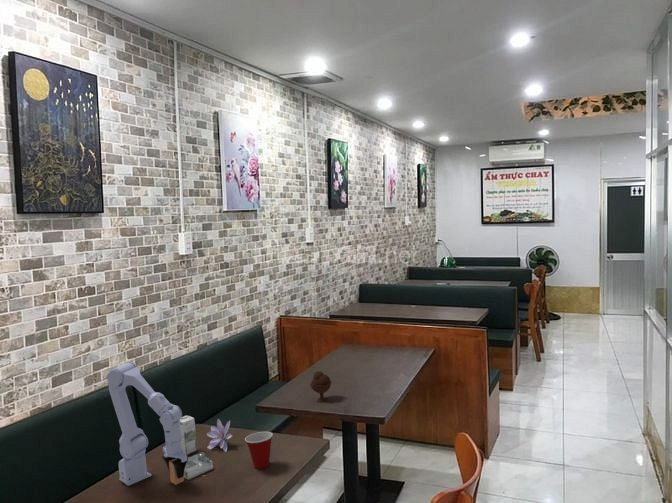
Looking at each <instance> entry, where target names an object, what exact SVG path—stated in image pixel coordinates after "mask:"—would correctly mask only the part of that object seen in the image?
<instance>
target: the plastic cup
mask: <svg viewBox="0 0 672 503" xmlns="http://www.w3.org/2000/svg"><path fill="white" fill-rule="evenodd" d="M273 437H274V436H273V432H271V431H259V432H253V433H251V434H249V435H247V436H246V437H245V438H244V441H245V442H246V444H247V447H248V450H249V454H250V456H251V457H250V458H251V460H252V465H253V468H254V469H257V470H264V469H266V468H267V467H269V466H270V458H271V449H272V448H271V446H272V438H273Z"/></svg>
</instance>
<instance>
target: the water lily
mask: <svg viewBox="0 0 672 503" xmlns="http://www.w3.org/2000/svg"><path fill="white" fill-rule="evenodd" d="M230 424H231V420H229V421H227V422H226V424H225V427H224V425H223V424H222V421H221V420H220V419H219V418H217V420H216V426H217V427H216V426H213V425H212V426H210V431H209V432H207V433H206V435H207V437H209V438H211V440H210V441H209V444H208V446H207V449H208V450H211V449H213V448H215V447H216V446H218V445H219V447H220V449H222V450H223V451H224V452H227V450H228V443H230V441H229V439H231V438H232V437H233V434H231V433H228V431H229V429H230Z"/></svg>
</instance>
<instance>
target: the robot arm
mask: <svg viewBox="0 0 672 503" xmlns="http://www.w3.org/2000/svg"><path fill="white" fill-rule="evenodd" d="M106 380H107V382H108V391H109V396H110V398H111V401H112V404H113V407H114V410H115V414H116V416H117V420H118V423H119V427H120V430H121V433H122V434H121V436H120V437H119V440H118V442H119V443H118V444H119V452H120V455H121V456H122V459H120V460H119V461H118V471H119V481H120V482H122V483H124V484H125V485H127V486H132V485H134V484H136V483H138V482H141V481H144V480H145V479H148V478H150V477H152V473H150V472H148V468H147V459H146V458H147V457H146V451H147V449H146V448H148V446H149V439H148V437H147V435H146V434H145V432H144V430H143V429H142V428H140V427H138V426H137V423H136V420H135V416H134V413H133V410H132V407H131V404H130V400H129V398H128V394H127V391H126V388H127V387H128V386H133V388H135V389H136V390H137V391H138V392H140V394H142V395H143V396H144V397H145V398H146V399H147V404H148V406H149V407H150V408H151V409H152V410H153V411H154V412H155V413H156V414H157V415H158V416H159V417H160V418H159V422H160V424H161V425H162V428H163V431H164V440H165V446H163V447H162V452H163V453H164V454H163V456H162V459H163V461H164V462H165V464H166V467H167V469H168V472H169V473H170V468H169V461H171V460H173V459H175V458H177V460H174V461H172V463H173V465H174V467H175V470H176V474H177V477H178V478H181V477H183V476H184V470H185V466H186V463H187V461H188V458H189V457H188V455H185V453H184V451H183V449H182V440H181V430H180V419H181V418H182V417H183V411H182V409H181V408H180V406H178V405H177V404H176V405H175V404H173V403H170V401H169V400H168V399H167V398H166V397H165V395H164V394H163V393H161V392H158V391H157V392H156V391H154V389H153V387H152V386H150V384H149V383H148V382H147V381H146V379H145V378H144V377H143V376H142V374H141V370H140V368H139V367H138V366H137V365H136V364H135V362H133V361H127V362H125V363H124V364H120V365H118V366H116V367H113V368H111V369H109V371H108V373H107V374H106ZM178 420H179V421H178Z"/></svg>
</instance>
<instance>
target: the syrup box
mask: <svg viewBox="0 0 672 503" xmlns="http://www.w3.org/2000/svg"><path fill="white" fill-rule="evenodd" d="M195 420H196V419H195V418H194V417H192V416H190V415H184V416H182V417H181V419H180V430H181V440H182V449H183V451H184V453H185V455H187V456H188V455H190V454H194V453H195V452H197V451H198V448H197V447H198V445H197V436H196V435H197V434H196V422H195ZM178 421H179V420H178Z"/></svg>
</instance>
